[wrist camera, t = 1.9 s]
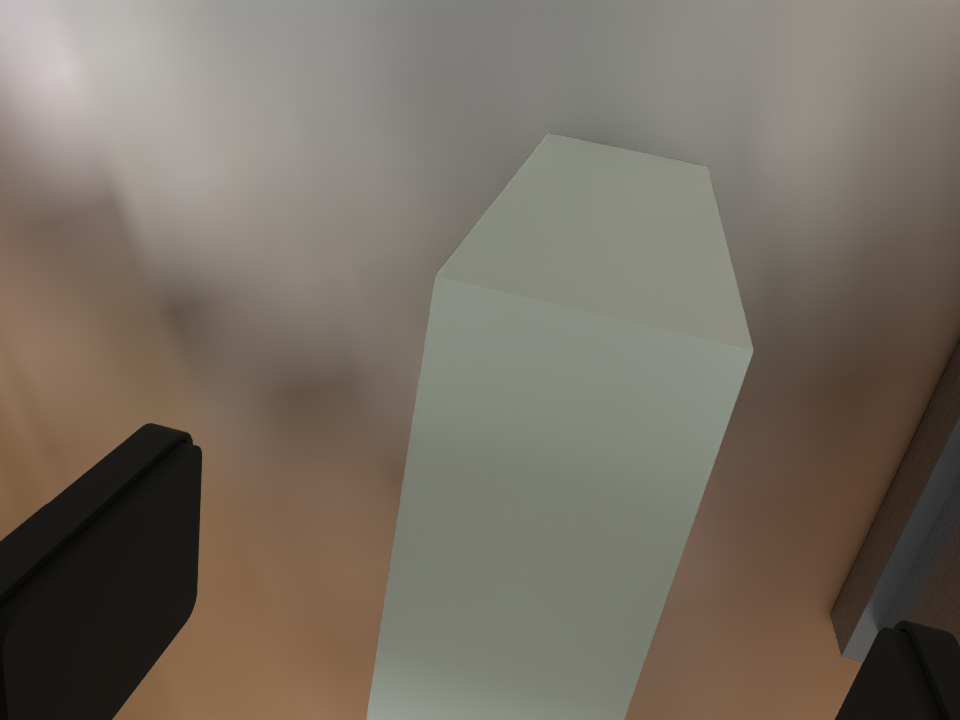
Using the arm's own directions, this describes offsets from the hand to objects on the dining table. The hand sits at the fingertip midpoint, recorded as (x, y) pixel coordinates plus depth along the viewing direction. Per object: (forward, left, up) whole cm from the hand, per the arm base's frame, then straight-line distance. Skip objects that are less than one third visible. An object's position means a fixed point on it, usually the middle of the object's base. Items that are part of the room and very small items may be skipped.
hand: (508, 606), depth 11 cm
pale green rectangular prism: (-1, 0, -10) cm, 10 cm away
